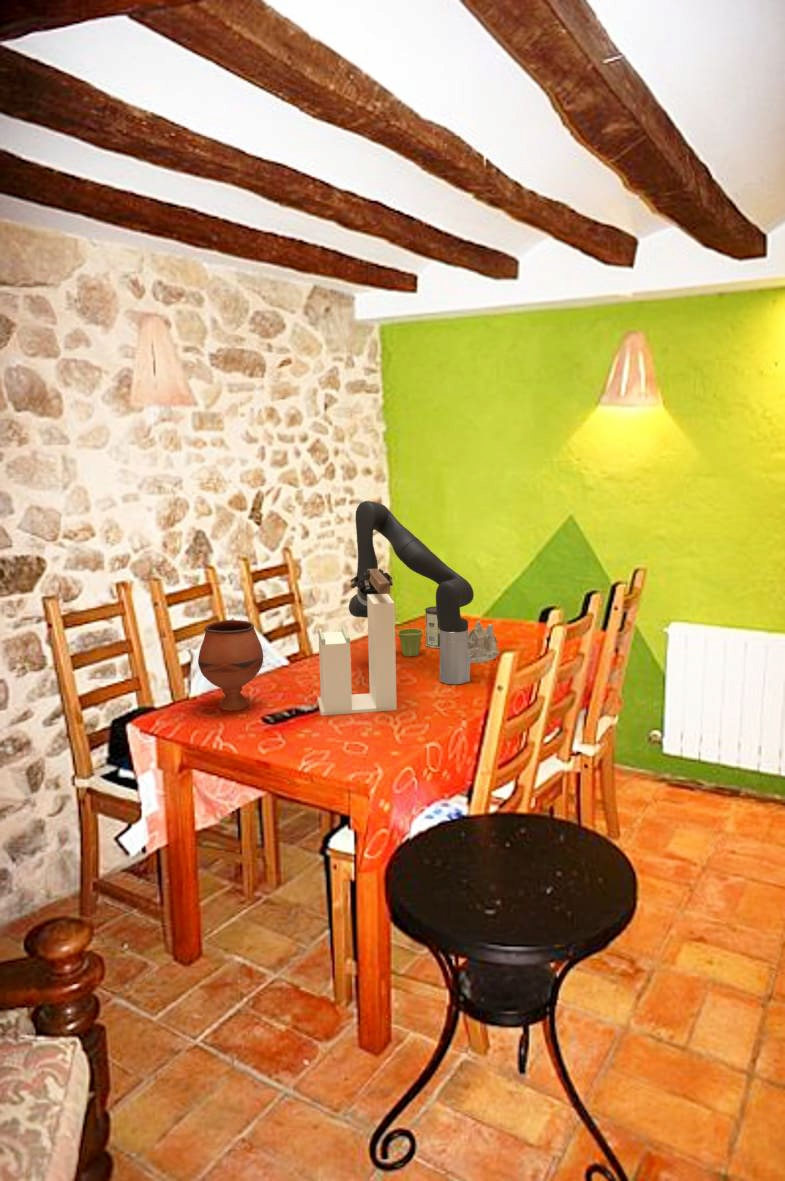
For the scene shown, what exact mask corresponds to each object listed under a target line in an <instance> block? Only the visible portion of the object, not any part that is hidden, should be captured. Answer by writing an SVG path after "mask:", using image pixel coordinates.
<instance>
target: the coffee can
mask: <svg viewBox="0 0 785 1181" xmlns="http://www.w3.org/2000/svg"><path fill="white" fill-rule="evenodd" d="M424 611H425V646H426V647H427V646H428V648H432V649H440V629H439V623H438V620H437V612H436V605H435V606H429V607H426V608H425V609H424Z"/></svg>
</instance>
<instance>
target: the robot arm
mask: <svg viewBox="0 0 785 1181" xmlns="http://www.w3.org/2000/svg"><path fill="white" fill-rule="evenodd" d="M355 529H356V543H357V568H356V569H357V570H356V576H355V577H353V578H352V579H350V588H351V589H355V588H357V592H356V594H354V595H353V596H352V598H351V599H350V600H349V603H348V604H349V605H348V610H349V613H350V615H351V616H352V617H355V618H366V619H368V608H367V594H379V593H378V591H377V590H376V589H375V587H374V586H373V585H372V584H371V582H370V581H369V578H370V569H378V571H379V572H380V573H381V574H382V575H383V576H384V577H385V578H386V579H387V580H388V581H389V582H390V587H393V583H394V582H393V577H392V576H391V575H390V574H389V573H388V572H384V570H383V569H382V568H379V566H378V559H377V558H378V557H377V554H376V552H375V547H374V538H373V537H374V531H376V532H378V533H379V534H380V535H381V536H383V537H384V538H385V539H386V540H387V541H388V542H389V543H390V545H391V548H392V550H393V551H394V554H395V556H396V557H397V558H398V559H399V560H400V561H401V562H402V563H403V565H405V566H406V567H407V568H408V569H409V570H411V571H412V572H415V573H416V574H418V575H420V576H422V577H425V578H427V579H429V580H431V581H433V582H435V583H436V584H437V587H436V592H435V606H436V612H437V620H438V623H439V629H440V648H439V681H440V682H441V683H443V684H446V685H447V684H448V685H461V684H465V683H471V663H470V653H469V652H468V633H469V621H468V620H467V619H466V618H463V617H462V616H461V608H462V607H465V606H468V605H469V604H471V603H472V602H473V600H474V595H475V593H474V590H473V589H474V588H473V587H472V585H471V583H470V582H469V581H468V580H467V579H465V578H464V577H463V576H461V574H459V573H458V572H456V571H455V570H454V569H452V568H451V567H449V566H448V564H446V563H444V561H443V560H442V559H440V557H438V556H437V555H436V554H435V553H434V552H433V551H431V549H429V547H428V546H426V545H425V543H423V542H422V541H421V540H420V539H419V538H417V537H416V535H414V534H413V533H412V532H411V531H410V529H408V528H406V526H404V525H403V524H402V523H401V522H400V521H399V520H398V519H397V517H395V516H394V514H393V513H392V512H391V510H390V509H389V508H388V507H387V506H385V505H384V504H382V503H380V502H375V501H371V500H364V501H362V502H360V503H359V505H357V507H356V510H355Z"/></svg>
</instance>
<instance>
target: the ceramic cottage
mask: <svg viewBox="0 0 785 1181" xmlns="http://www.w3.org/2000/svg"><path fill="white" fill-rule="evenodd" d="M494 632H495V630H494V627H493V624H491V623H489V624H488V625H487V628H486V629H485V628H483V625H482V624H481V621H479V620H478V621H476V623H475V627H474V628H472V629H471V631H470V632H468V652H469V653H470V664H471V663H481V664H483V663H482V662H488V661H490V660H493V659H495V658H496V657H497V655H498V654H499V653H500V650H499V649H498V645H497V643H498V639H496V636H495V633H494ZM500 654H501V653H500ZM488 663H489V662H488Z"/></svg>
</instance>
